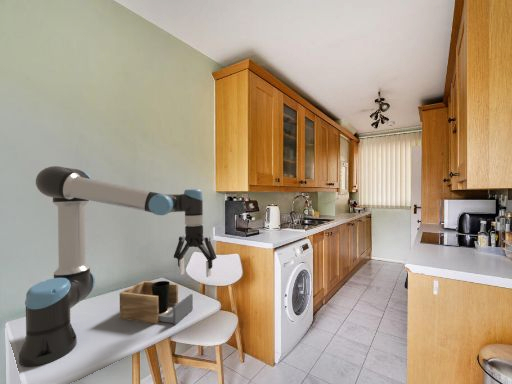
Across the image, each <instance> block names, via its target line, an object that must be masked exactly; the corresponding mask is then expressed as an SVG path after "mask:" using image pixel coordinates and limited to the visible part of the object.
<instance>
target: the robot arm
mask: <svg viewBox="0 0 512 384" xmlns="http://www.w3.org/2000/svg"><path fill="white" fill-rule="evenodd" d="M35 186H36V188H37V190H38V191H39V192H40V193H41V194H43V195H44V196H46V197H50V198H52V203H53V204H54V205H55V206H56V207H57V232H58V233H57V234H58V235H57V239H58V241H57V242H58V243H57V244H58V245H57V246H58V251H57V253H58V268H57V269H56V270H55V271H54V272H53V278H50V279H46V280H45V281H44V280H43V281H40V282H38V283H36V284H34V285H32V286H31V287H30V288H29V289H28V290H27V292H26V295H25V301H24V305H25V337H24V340H23V343H22V345H21V349H20V350H19V354H18V363H19V365H20V366H22V365H24V366H23V367H36V366H41V365H44V364H48V363H51V362H53V361H56V360H58V359H60V358H62V357H64V356H66V355H67V354H69V353H70V352H71V351H72V350H74V349H75V347H76V346H77V342H78V341H77V334H76V332H75V330H74V327H73V326H72V323H71V309H72V308H73V307H75V306H76V305H77V304H79V303H80V302H82V301H83V300H85V299H86V298H87V297H88V296H89V295H90V294H91V293H92V291H93V290H94V288H95V285H96V278H95V277H96V276H94V274H93V272H92V271H91V267H90V265H89V264H87V263H86V232H85V231H86V223H85V221H86V219H85V218H86V217H85V215H86V214H85V206H86V205H87V204H88V203H89V202H90V201H91V202H96V203H102V204H107V205H112V206H117V207H121V208H122V207H123V208H126V209H127V208H128V209H132V210H137V211H143V212H148V213H152V214H154V215H157V216H165V215H168V214H169V213H178V212H180V213H184V225H185V227H184V228H185V229H184V230H185V231H184V232H185V236H184V235H181V236H179V237H178V242H177V245H176V248H175V252H174V254H173V258H174V259H177V266H178V268H179V275H180V276H182V275H184V274H185V273H186V272H185V271H186V269H185V258H184V256H185V255H186V253H187V252H188V250H189V249H190V248H193V247H194V248H198V249H199V250H200V251H201V254H203V256H204V257H205V259H206V261H205V274H206V275H205V276H206V278H209V277H210V276H212V269H213V261H214V260H216V259H217V255H216V252H215V249H214V247H213V244H212V243H211V237H210V235H209V236H204V225H203V224H204V218H203V217H204V214H203V211H204V209H203V208H204V206H203V205H204V204H203V201H204V200H203V192H202V190H201V189H199V188H198V189H197V188H196V189H195V188H194V189H193V188H191V189H185V190H184V191H183V193H182V194H164V193H159V192H156V191H155V192H152V191H150V190H149V191H148V190H143V189H140V188H136V187H132V186H131V187H129V186H125V185H120V184H116V183H112V182H107V181H102V180H98V179H93V178H92V177H91V176H90V175H89V173H87V172H85V171H83V170H81V169H76V168H70V167H63V166H58V165H57V166H49V167H45V168H44V169H42V170H40V171H39V172H38V173H37V175H36V177H35ZM185 241H186V243H185ZM184 243H185V244H184Z"/></svg>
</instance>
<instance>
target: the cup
mask: <svg viewBox="0 0 512 384" xmlns="http://www.w3.org/2000/svg"><path fill="white" fill-rule="evenodd" d="M154 282H155V283H153V284H152V285H151V286H152V295H154V296H158V299H159V314H161V313H164V312H166V311H167V310H168V299H169V286H170V283H171V282H169V281H168V280H160V281H154Z"/></svg>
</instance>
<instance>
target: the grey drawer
mask: <svg viewBox="0 0 512 384" xmlns="http://www.w3.org/2000/svg"><path fill="white" fill-rule="evenodd" d="M193 302H194V299H193V293H190V294H188V296H186V297H185V298H183V299H181V301H178V304H177V303H169V302H168V310H167V311H166V312H164V313H161V314H159V322H163V323H169V324H171V323H172V324H173V325H177V324H178V323H179V322H180V321H182V320H183V319H184V318H185V317H187V315H188V314H190V312H192V310H194V304H193Z"/></svg>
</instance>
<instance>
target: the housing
mask: <svg viewBox="0 0 512 384" xmlns="http://www.w3.org/2000/svg"><path fill="white" fill-rule="evenodd" d="M155 282H156V281H151V280H143V281H141V282H139V283H137V284H135V285H133V286H131V287H129V288H127V289H124V290H123V291H121V292H119V319H123V320H129V321H135V322H137V321H138V322H141V323H142V322H143V323H148V324H149V323H150V324H159V322H160V321H159V299H158V296H154V295H152V286H151V285H152V284H153V283H155ZM168 302H169V303H177V304H178V303H179V284H178V283H171V282H170V286H169V299H168Z"/></svg>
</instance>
